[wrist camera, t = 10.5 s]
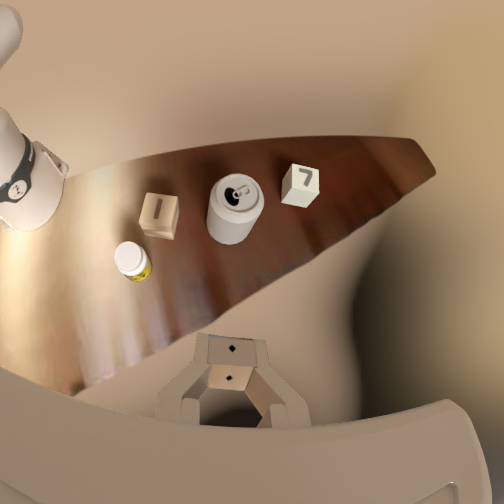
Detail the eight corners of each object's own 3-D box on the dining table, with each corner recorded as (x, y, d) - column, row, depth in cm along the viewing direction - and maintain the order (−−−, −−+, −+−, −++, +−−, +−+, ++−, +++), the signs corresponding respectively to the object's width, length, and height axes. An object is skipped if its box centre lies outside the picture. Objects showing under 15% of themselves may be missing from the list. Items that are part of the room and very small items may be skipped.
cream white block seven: (281, 202, 50) (292, 186, 44) (282, 180, 51) (292, 162, 46) (306, 207, 51) (319, 193, 45) (306, 185, 52) (318, 169, 46)
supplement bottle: (125, 283, 40) (110, 273, 32) (125, 255, 41) (111, 239, 34) (153, 282, 41) (144, 271, 33) (152, 253, 43) (143, 237, 35)
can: (200, 211, 46) (203, 175, 35) (240, 200, 48) (255, 164, 37) (214, 251, 45) (221, 225, 34) (255, 238, 47) (275, 210, 36)
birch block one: (145, 235, 43) (138, 221, 37) (151, 208, 45) (146, 191, 39) (173, 239, 44) (170, 226, 38) (179, 212, 45) (177, 196, 40)
